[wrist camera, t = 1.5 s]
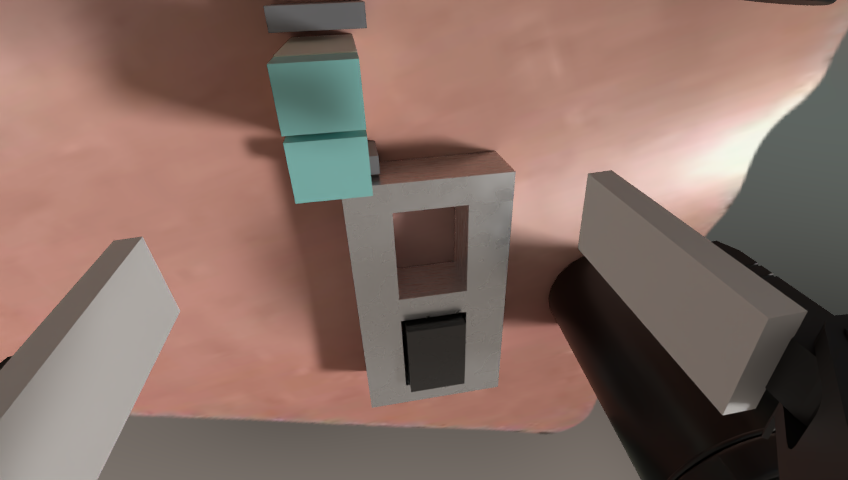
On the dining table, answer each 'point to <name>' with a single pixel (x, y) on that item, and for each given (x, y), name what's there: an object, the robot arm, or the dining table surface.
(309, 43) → the plug
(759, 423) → the water bottle
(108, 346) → the robot arm
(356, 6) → the pair of grey blocks
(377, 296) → the panel
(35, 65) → the dining table surface
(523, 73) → the dining table surface
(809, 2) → the end cap
